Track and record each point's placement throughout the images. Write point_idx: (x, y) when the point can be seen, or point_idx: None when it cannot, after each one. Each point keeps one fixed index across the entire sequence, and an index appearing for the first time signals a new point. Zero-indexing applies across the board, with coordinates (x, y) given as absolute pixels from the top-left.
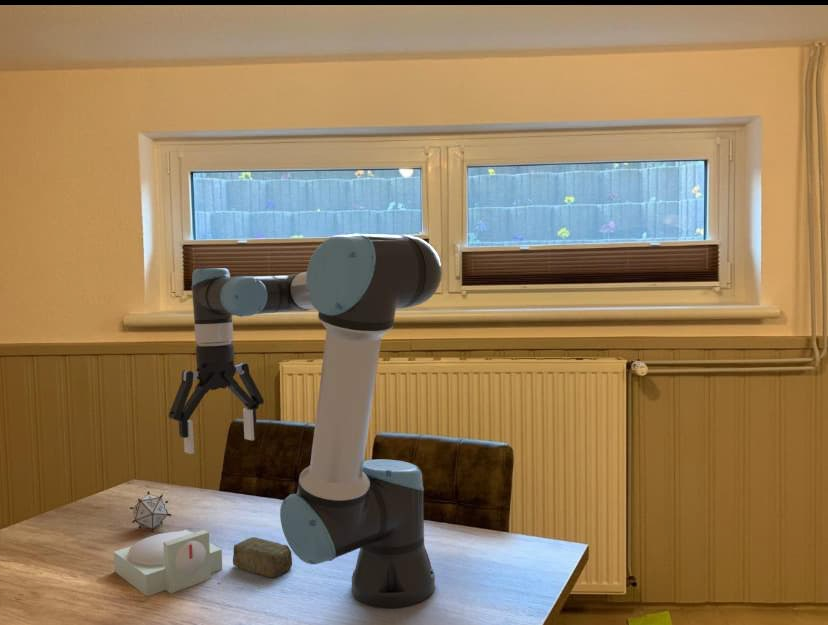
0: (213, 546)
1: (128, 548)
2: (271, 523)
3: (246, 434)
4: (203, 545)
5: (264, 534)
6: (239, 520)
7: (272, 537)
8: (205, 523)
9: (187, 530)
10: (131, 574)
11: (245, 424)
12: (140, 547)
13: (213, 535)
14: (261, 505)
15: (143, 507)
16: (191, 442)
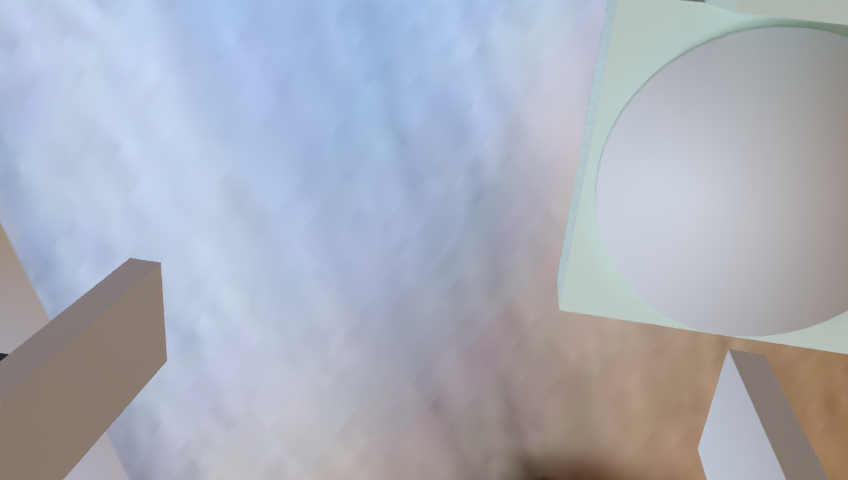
0: (616, 54)
1: (822, 336)
2: (212, 197)
3: (143, 350)
4: None
5: (293, 132)
6: (278, 321)
7: (289, 79)
8: (376, 398)
9: (562, 296)
10: None
11: (91, 413)
12: (835, 272)
13: (424, 288)
14: None
15: None
16: (781, 419)
